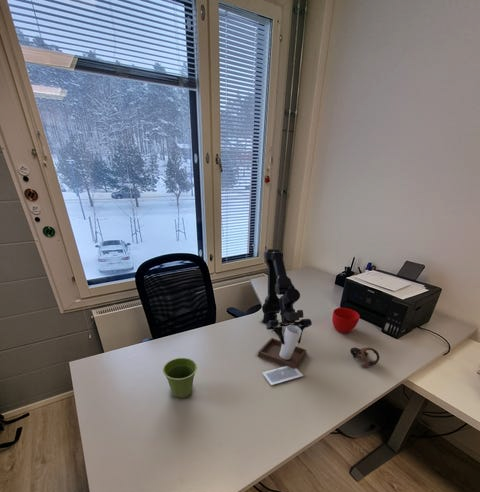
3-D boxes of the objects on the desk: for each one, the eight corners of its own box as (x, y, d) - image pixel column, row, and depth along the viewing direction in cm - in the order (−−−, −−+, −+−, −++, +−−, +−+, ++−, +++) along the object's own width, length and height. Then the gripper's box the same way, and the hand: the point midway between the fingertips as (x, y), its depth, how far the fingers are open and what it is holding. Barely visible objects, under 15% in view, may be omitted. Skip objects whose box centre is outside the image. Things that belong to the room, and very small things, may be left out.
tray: (258, 356, 120) (258, 351, 119) (271, 341, 130) (271, 337, 129) (294, 370, 112) (295, 365, 111) (305, 354, 123) (306, 349, 121)
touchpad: (302, 377, 109) (303, 373, 108) (270, 387, 104) (271, 383, 103) (292, 366, 115) (293, 362, 114) (261, 374, 110) (262, 370, 109)
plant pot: (183, 408, 93) (181, 384, 87) (159, 394, 98) (155, 370, 92) (204, 388, 102) (203, 365, 96) (181, 376, 107) (179, 353, 101)
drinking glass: (295, 358, 119) (305, 331, 111) (284, 363, 115) (294, 335, 107) (284, 349, 123) (293, 323, 115) (274, 354, 119) (282, 326, 111)
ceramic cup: (346, 320, 152) (350, 304, 147) (359, 336, 137) (364, 319, 132) (324, 320, 151) (327, 304, 146) (334, 336, 136) (338, 319, 131)
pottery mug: (372, 357, 123) (382, 349, 116) (369, 374, 119) (380, 368, 111) (347, 346, 125) (356, 338, 117) (343, 363, 120) (352, 357, 113)
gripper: (270, 303, 108) (274, 341, 104) (314, 302, 111) (319, 339, 107) (264, 311, 119) (268, 346, 115) (304, 310, 121) (309, 343, 118)
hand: (291, 343), depth 113 cm, fingers closed on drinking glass, 7 cm apart
